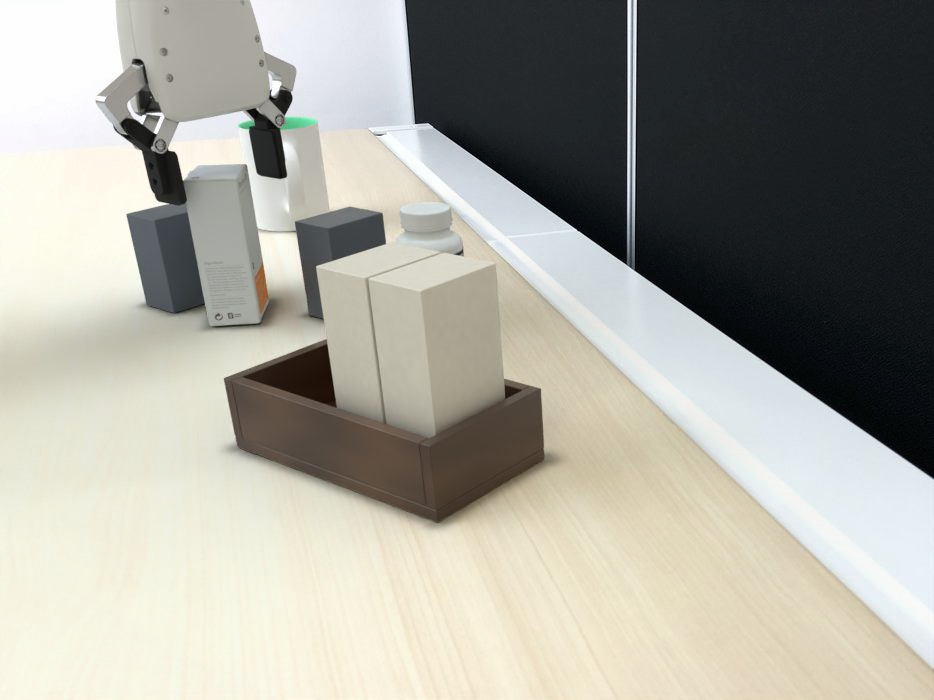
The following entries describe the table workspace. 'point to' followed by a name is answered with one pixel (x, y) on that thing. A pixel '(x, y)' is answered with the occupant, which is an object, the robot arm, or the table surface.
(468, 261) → the cream box
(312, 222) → the grey block front
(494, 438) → the brown wooden open box
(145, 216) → the grey block back
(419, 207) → the pill bottle
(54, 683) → the table surface
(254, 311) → the cosmetic box
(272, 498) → the table surface
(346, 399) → the cream box
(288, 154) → the mug
